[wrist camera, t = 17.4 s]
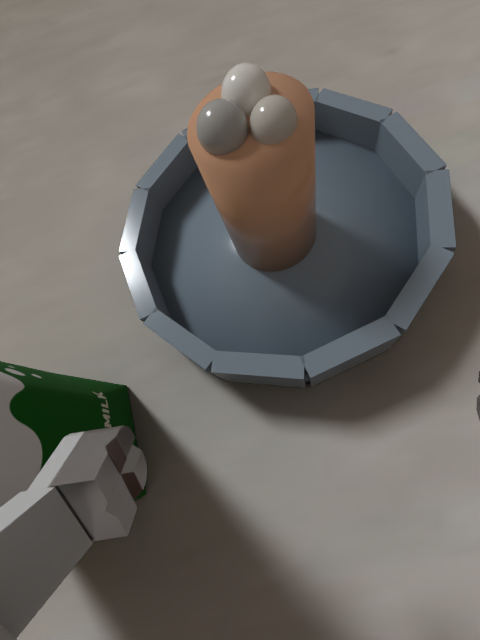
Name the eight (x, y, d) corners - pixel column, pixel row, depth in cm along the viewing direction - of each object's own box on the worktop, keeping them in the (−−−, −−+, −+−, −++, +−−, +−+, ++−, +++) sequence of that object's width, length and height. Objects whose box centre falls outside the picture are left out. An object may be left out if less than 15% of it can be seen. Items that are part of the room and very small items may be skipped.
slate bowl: (323, 454, 19) (324, 458, 16) (98, 287, 26) (67, 267, 23) (490, 190, 22) (521, 147, 18) (246, 104, 29) (237, 62, 25)
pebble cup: (284, 286, 21) (256, 167, 12) (218, 248, 23) (148, 119, 14) (332, 219, 22) (344, 56, 12) (264, 188, 24) (228, 25, 14)
